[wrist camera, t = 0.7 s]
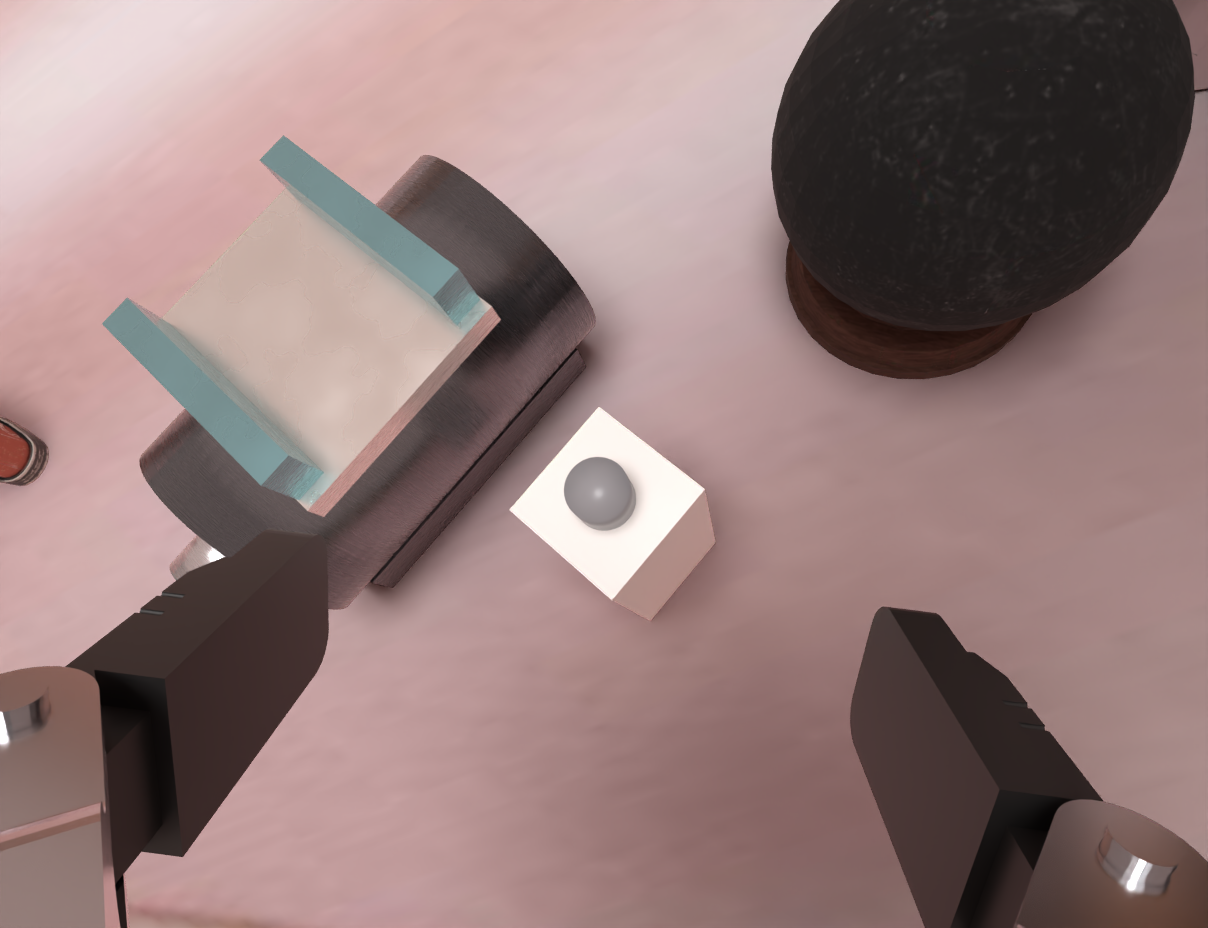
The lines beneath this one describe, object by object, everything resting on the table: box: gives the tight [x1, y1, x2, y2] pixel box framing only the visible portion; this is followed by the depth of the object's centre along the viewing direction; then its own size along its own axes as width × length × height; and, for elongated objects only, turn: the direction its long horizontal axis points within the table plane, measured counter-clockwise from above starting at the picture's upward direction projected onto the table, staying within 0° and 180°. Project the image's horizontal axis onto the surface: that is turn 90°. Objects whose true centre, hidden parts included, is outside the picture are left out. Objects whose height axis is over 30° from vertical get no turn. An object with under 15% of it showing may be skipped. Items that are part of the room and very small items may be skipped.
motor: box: [102, 135, 596, 609], centre depth 30 cm, size 19×10×13 cm, turn 139°
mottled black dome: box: [771, 0, 1195, 379], centre depth 27 cm, size 13×13×15 cm
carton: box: [510, 407, 716, 621], centre depth 27 cm, size 4×4×12 cm
